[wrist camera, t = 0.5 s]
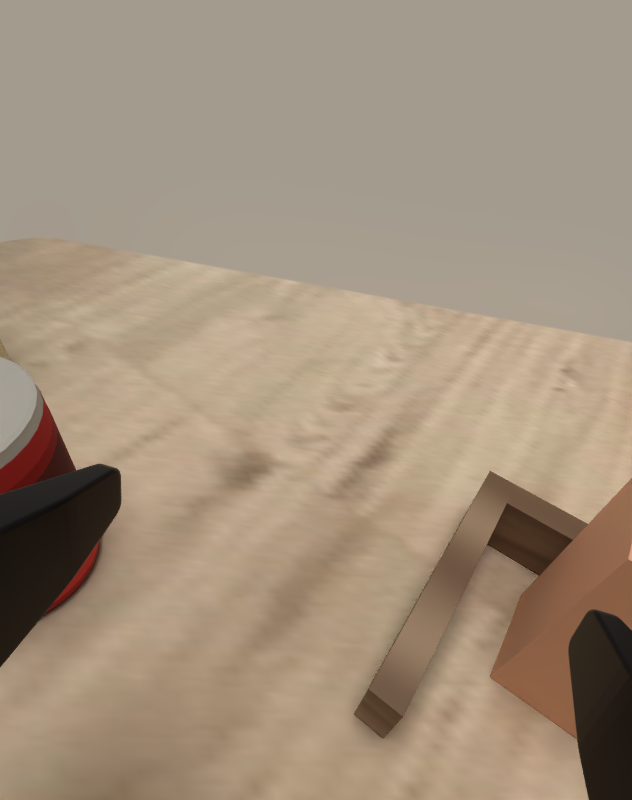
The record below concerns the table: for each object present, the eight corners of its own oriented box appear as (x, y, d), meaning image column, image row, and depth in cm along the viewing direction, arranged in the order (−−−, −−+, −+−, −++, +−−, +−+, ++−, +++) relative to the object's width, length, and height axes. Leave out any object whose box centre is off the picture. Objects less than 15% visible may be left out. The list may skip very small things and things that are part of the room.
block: (596, 753, 21) (829, 670, 12) (489, 676, 22) (628, 558, 14) (617, 654, 24) (814, 534, 15) (521, 594, 25) (650, 458, 17)
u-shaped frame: (703, 1007, 16) (799, 1036, 13) (354, 714, 21) (368, 689, 18) (720, 657, 24) (781, 628, 21) (468, 509, 29) (490, 471, 26)
